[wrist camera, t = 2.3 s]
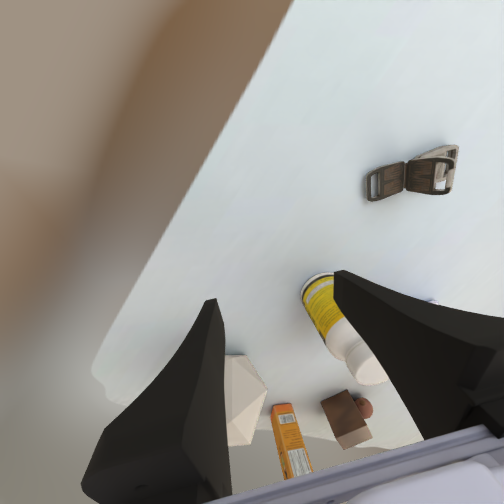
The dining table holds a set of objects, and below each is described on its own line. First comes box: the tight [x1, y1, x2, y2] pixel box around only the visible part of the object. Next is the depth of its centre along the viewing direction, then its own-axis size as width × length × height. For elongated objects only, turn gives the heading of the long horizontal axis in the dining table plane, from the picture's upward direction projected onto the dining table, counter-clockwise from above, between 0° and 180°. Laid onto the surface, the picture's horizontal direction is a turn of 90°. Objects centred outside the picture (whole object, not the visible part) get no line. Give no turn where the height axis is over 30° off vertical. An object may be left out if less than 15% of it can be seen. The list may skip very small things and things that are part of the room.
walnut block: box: [321, 390, 373, 450], centre depth 33 cm, size 5×5×5 cm
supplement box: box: [271, 403, 313, 480], centre depth 29 cm, size 3×3×10 cm
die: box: [224, 355, 268, 446], centre depth 23 cm, size 8×9×10 cm
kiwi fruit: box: [355, 398, 373, 419], centre depth 34 cm, size 6×5×3 cm
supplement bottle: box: [301, 272, 389, 386], centre depth 19 cm, size 5×5×10 cm
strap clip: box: [366, 145, 459, 202], centre depth 17 cm, size 8×3×4 cm, turn 107°
